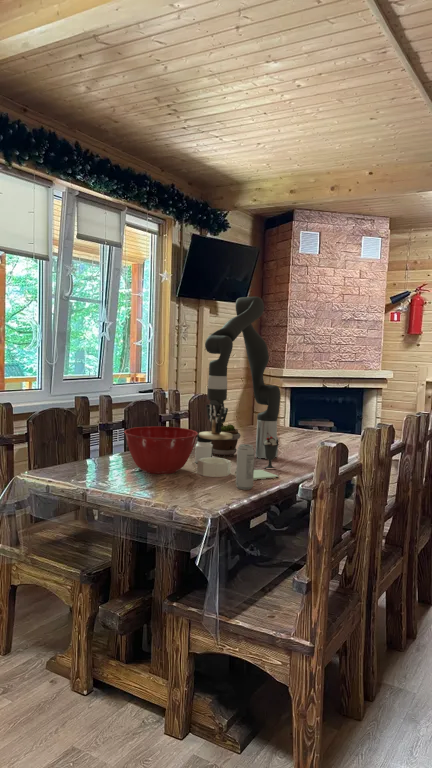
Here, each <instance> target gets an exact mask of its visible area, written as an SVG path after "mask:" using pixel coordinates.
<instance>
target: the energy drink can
mask: <svg viewBox="0 0 432 768" xmlns="http://www.w3.org/2000/svg"><path fill="white" fill-rule="evenodd" d="M236 449H237V451H236V471H235V472H236V474H235V486H236V488H237V489H239V490H244V491H246V490H247V491H248V490H251V489H252V487H254V480H253V474H254V470H255V455H256V449H254V445H253V444H250V443H249V444H248V443H247V444H246V443H242V444H241V443H240V444H239V446H238V448H236Z"/></svg>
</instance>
